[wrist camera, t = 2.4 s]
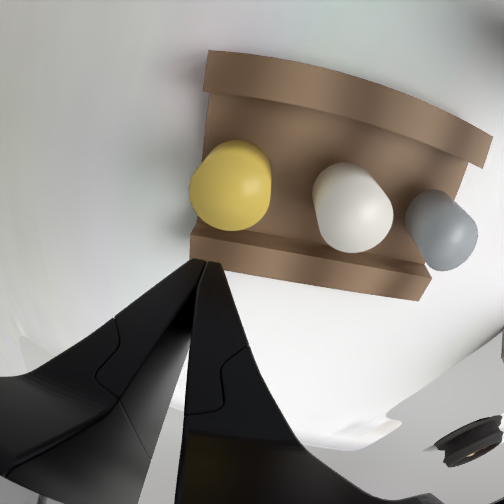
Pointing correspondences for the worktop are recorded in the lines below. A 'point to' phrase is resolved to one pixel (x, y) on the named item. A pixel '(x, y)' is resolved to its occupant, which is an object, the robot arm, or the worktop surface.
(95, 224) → the worktop surface
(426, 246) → the grey rounded block
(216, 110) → the key console
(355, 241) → the white key
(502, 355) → the coffee box
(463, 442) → the casserole
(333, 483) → the robot arm
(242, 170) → the mustard key
